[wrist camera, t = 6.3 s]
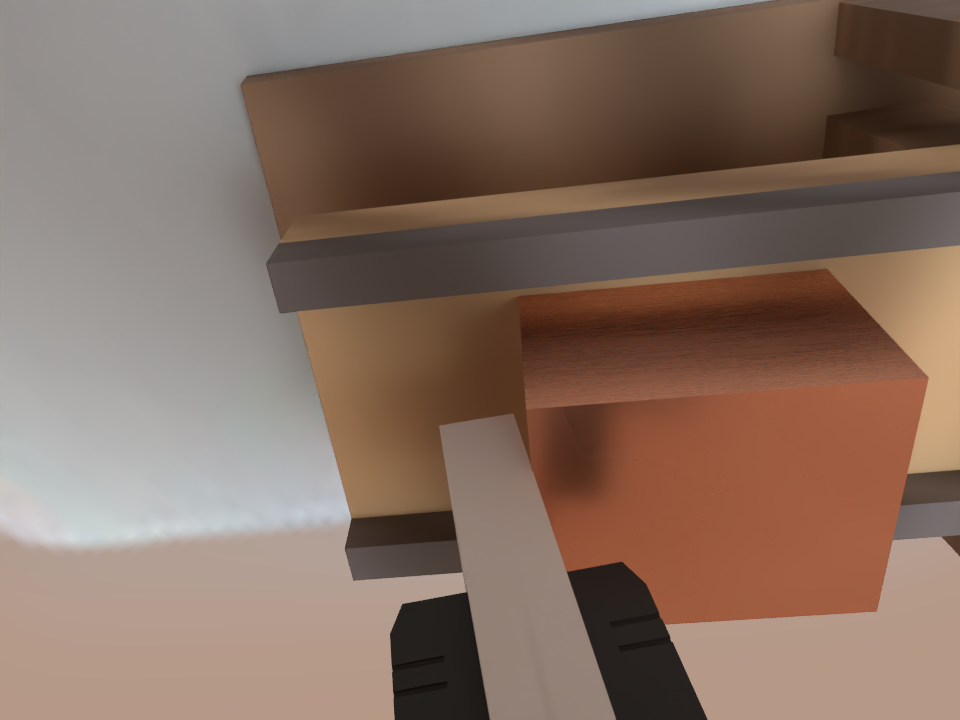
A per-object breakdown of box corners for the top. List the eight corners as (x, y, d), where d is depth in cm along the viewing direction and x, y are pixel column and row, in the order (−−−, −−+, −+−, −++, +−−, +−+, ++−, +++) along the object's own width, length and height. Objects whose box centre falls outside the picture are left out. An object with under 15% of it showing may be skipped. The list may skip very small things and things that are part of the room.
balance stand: (341, 444, 26) (329, 720, 17) (246, 76, 20) (152, 200, 11) (1270, 285, 28) (1703, 457, 19) (1437, -95, 22) (2187, -109, 13)
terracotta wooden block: (534, 491, 18) (545, 632, 14) (517, 296, 15) (526, 409, 12) (799, 472, 17) (876, 610, 14) (827, 269, 15) (929, 378, 11)
